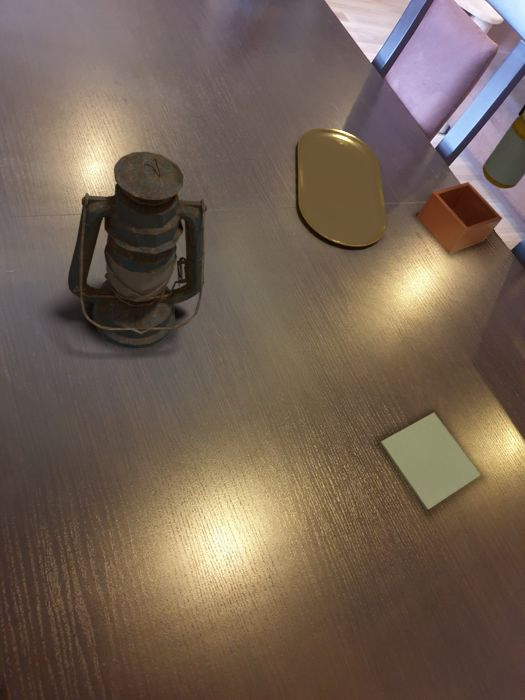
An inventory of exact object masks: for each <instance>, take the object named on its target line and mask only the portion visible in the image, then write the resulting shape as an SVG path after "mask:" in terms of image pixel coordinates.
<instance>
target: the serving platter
mask: <svg viewBox="0 0 525 700" xmlns="http://www.w3.org/2000/svg"><path fill="white" fill-rule="evenodd" d="M297 184H298V185H297V190H298V191H297V192H298V207H299V211H300V214H301V215H302V218H303V219H304V221H305V222H306V224H307V225H308V226H309V227H310V228H311V229H312V230H313V231H314V232H315V233H317V235H319V236H320V237H322V238H324V239H325V240H327V241H329V242H332V243H334V244H336V245H340V246H344V247H350V248H359V247H361V248H362V247H367V246H369V245H372V244H375V243H377V242H378V241H379V240H381V238H383V236H384V235H385V233H386V231H387V227H388V217H387V209H386V202H385V195H384V193H385V192H384V187H383V179H382V172H381V165H380V161H379V158H378V157H377V155H376V153H375V151H373V149H372V148H371V147H370V146H369V145H368V144H367V143H365V142H364V141H363V140H362V139H360V138H359V137H357V136H355V135H353V134H351V133H349V132H347V131H344V130H340V129H337V128H332V127H318V128H313V129H310V130H308V131H306V132H305V133H304V134H302V135H301V136H300V138H299V140H298V143H297Z"/></svg>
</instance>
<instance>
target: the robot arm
mask: <svg viewBox="0 0 525 700" xmlns="http://www.w3.org/2000/svg"><path fill="white" fill-rule="evenodd" d="M524 111H525V104H524V105H523V106H522V107H521V109H520V110H519V112H518V113H517V114H518V117H519V116H520V115H521V114H523V112H524Z"/></svg>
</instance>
